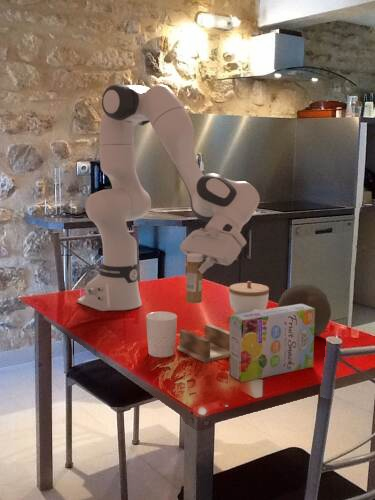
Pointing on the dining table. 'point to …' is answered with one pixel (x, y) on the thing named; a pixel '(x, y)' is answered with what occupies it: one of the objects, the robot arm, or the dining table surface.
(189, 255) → the sprinkles bottle
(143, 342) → the dining table surface
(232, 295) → the lidded white jar
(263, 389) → the dining table surface
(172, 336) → the white cup
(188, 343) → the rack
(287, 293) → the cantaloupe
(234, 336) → the snack box
